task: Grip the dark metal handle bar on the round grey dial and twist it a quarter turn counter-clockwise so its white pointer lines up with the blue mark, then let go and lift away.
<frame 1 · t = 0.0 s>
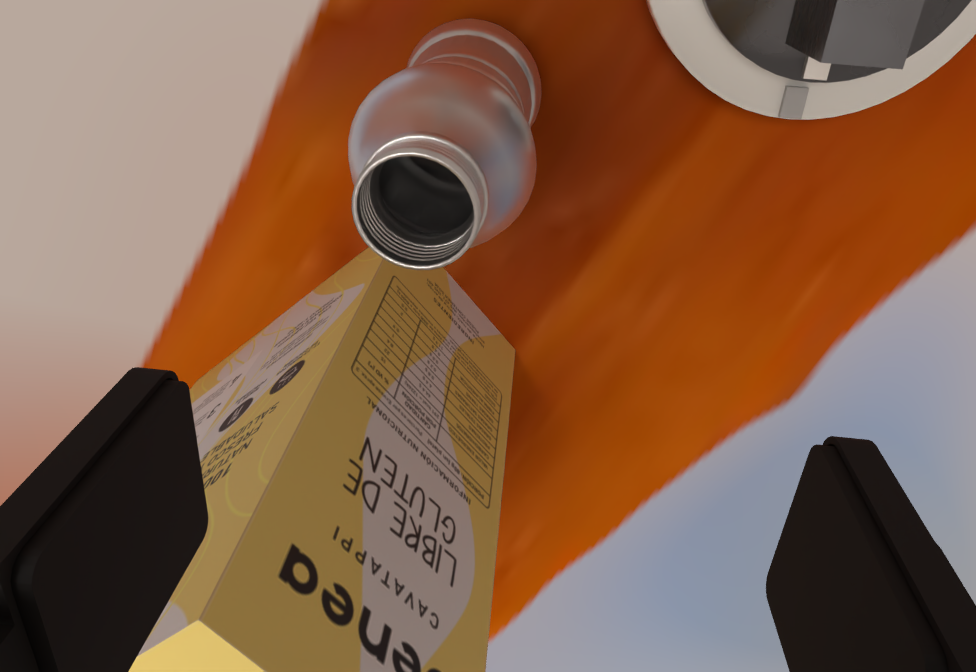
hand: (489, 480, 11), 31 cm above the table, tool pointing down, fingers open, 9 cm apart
plastic bottle: (478, 80, 39), on the table
pasta box: (352, 364, 48), on the table
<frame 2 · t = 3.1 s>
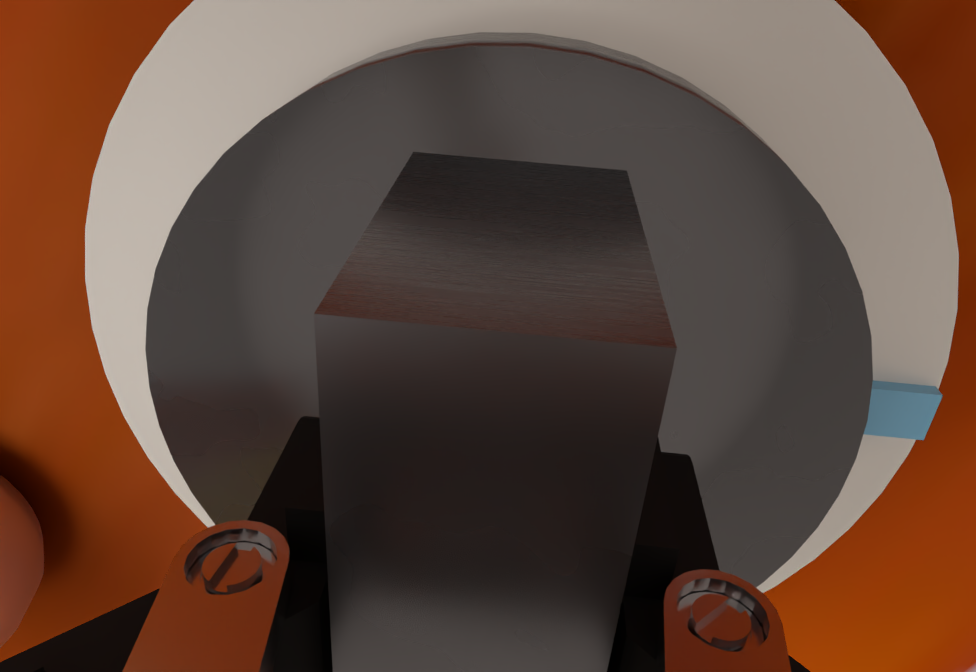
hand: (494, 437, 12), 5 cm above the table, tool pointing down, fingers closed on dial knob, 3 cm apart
dial housing: (511, 298, 17), on the table
dial knob: (488, 491, 11), point 7 cm above the table, hinge at 0.0°, touching gripper
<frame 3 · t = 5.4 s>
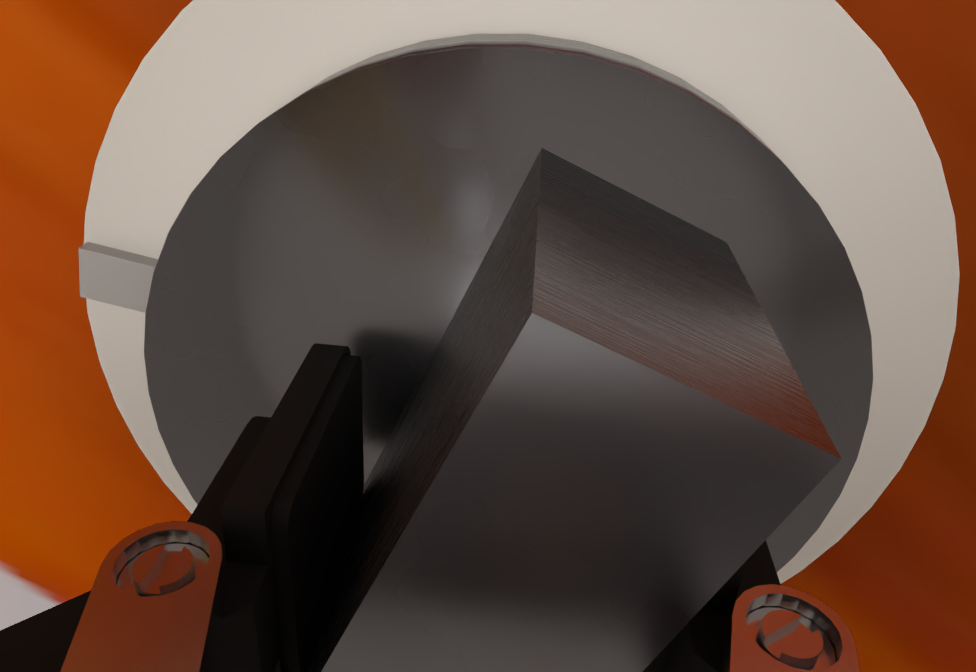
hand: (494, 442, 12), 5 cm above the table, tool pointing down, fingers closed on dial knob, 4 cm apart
dial housing: (510, 299, 17), on the table
dial knob: (487, 493, 11), point 7 cm above the table, hinge at 77.8°, touching gripper
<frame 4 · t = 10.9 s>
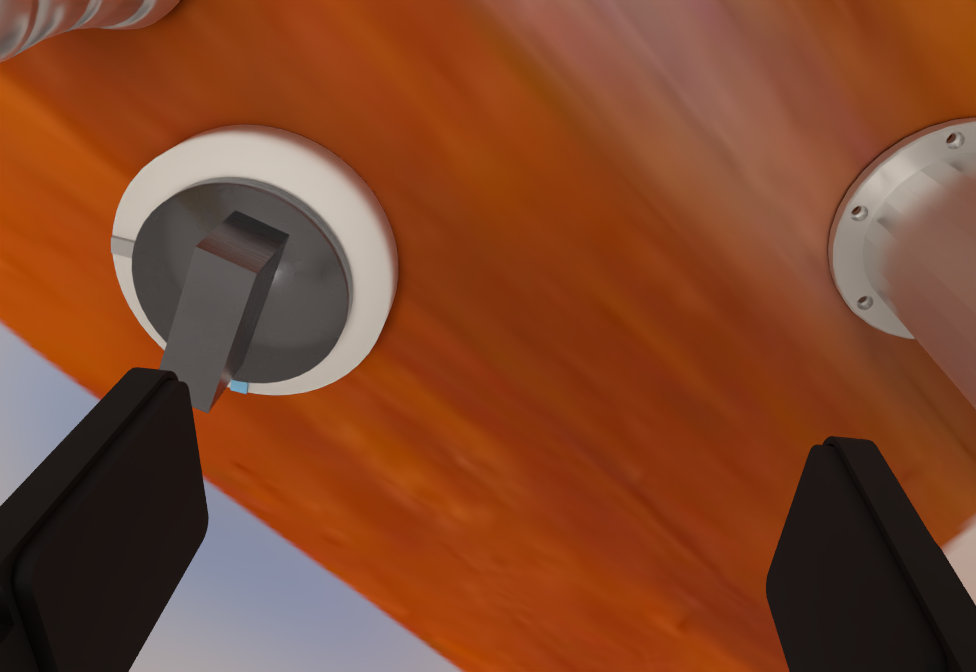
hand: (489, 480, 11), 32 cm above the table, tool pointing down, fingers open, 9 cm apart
dial housing: (268, 257, 46), on the table
dial knob: (227, 305, 40), point 7 cm above the table, hinge at 78.5°
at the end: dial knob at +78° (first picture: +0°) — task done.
